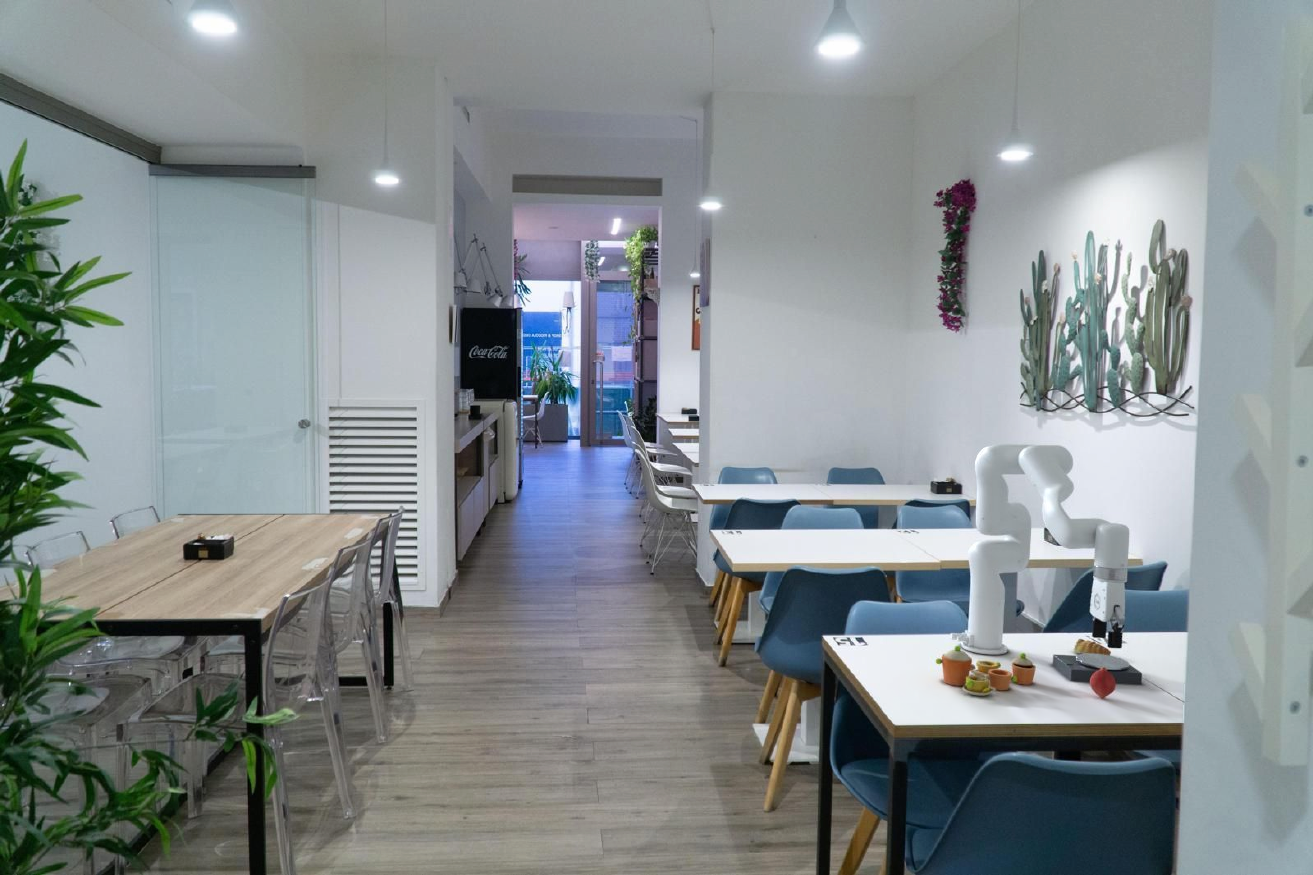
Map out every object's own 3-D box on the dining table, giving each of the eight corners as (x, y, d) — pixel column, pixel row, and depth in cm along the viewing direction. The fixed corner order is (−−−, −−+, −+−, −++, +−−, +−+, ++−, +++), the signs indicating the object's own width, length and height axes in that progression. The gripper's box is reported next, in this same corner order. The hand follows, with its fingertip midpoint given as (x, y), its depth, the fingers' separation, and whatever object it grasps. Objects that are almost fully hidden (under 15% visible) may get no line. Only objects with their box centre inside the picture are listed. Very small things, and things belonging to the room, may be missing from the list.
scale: (1070, 680, 258) (1071, 668, 258) (1052, 665, 272) (1053, 653, 272) (1141, 684, 257) (1142, 672, 257) (1119, 668, 271) (1120, 657, 271)
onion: (1084, 694, 248) (1086, 662, 247) (1106, 694, 248) (1108, 662, 248) (1096, 701, 242) (1098, 669, 241) (1119, 702, 242) (1121, 669, 242)
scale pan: (1086, 668, 258) (1086, 666, 258) (1068, 654, 271) (1068, 652, 271) (1137, 671, 257) (1137, 668, 257) (1117, 656, 270) (1117, 654, 270)
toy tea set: (977, 700, 240) (979, 661, 239) (928, 682, 253) (930, 644, 252) (1045, 685, 254) (1048, 648, 253) (996, 668, 267) (998, 633, 266)
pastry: (1114, 656, 283) (1115, 643, 282) (1104, 661, 278) (1105, 647, 278) (1081, 649, 289) (1081, 636, 289) (1071, 653, 284) (1072, 640, 284)
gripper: (1081, 566, 252) (1078, 633, 253) (1108, 580, 234) (1104, 651, 235) (1111, 567, 251) (1108, 634, 252) (1141, 581, 234) (1137, 652, 235)
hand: (1106, 642), depth 244 cm, fingers open, 9 cm apart
